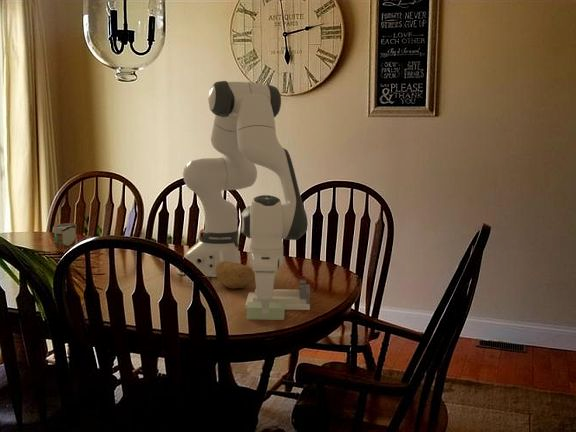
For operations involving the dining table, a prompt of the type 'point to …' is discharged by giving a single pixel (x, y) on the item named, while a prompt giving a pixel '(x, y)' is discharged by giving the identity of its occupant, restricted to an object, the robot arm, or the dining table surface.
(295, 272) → the dining table surface
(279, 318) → the green block
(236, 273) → the potato
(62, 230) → the food container
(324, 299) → the dining table surface
